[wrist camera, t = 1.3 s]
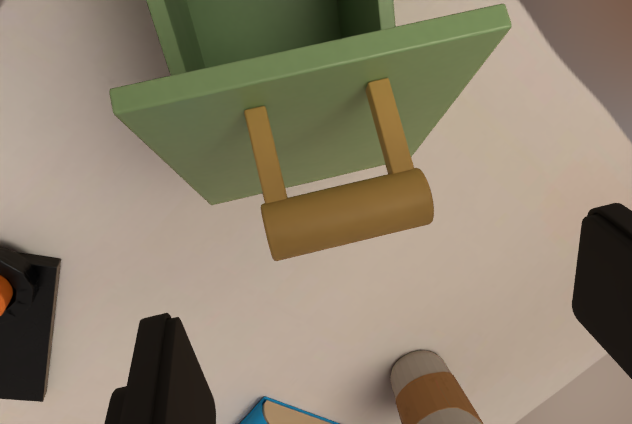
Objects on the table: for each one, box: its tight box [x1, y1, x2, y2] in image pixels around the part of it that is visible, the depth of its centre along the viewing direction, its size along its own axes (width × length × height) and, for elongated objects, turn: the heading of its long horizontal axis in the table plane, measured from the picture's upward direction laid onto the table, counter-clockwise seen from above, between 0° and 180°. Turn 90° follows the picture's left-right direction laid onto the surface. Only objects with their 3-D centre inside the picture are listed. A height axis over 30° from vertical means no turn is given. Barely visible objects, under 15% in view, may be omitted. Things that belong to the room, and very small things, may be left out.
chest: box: [146, 0, 395, 76], centre depth 30 cm, size 14×12×12 cm
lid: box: [109, 4, 511, 261], centre depth 21 cm, size 14×12×6 cm
